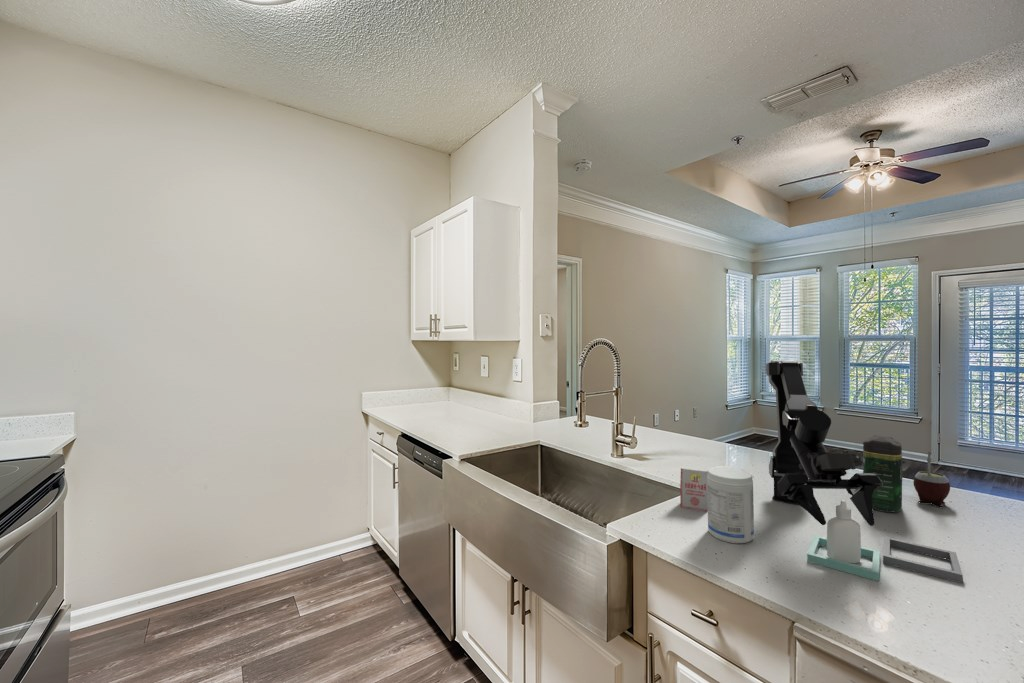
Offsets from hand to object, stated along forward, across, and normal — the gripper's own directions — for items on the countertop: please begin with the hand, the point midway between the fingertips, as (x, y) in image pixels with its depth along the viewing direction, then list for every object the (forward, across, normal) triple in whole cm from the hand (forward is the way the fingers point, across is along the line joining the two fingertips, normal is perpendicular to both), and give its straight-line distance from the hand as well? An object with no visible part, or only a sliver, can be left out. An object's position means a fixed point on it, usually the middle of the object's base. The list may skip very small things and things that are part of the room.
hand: (848, 524), depth 85 cm
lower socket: (+4, 0, +6) cm, 8 cm away
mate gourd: (-18, +44, +29) cm, 56 cm away
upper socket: (+4, +15, +6) cm, 17 cm away
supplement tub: (-3, -18, +14) cm, 23 cm away
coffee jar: (-16, +30, +27) cm, 43 cm away
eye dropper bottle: (+5, 0, +7) cm, 8 cm away
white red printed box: (-14, -20, +26) cm, 36 cm away
